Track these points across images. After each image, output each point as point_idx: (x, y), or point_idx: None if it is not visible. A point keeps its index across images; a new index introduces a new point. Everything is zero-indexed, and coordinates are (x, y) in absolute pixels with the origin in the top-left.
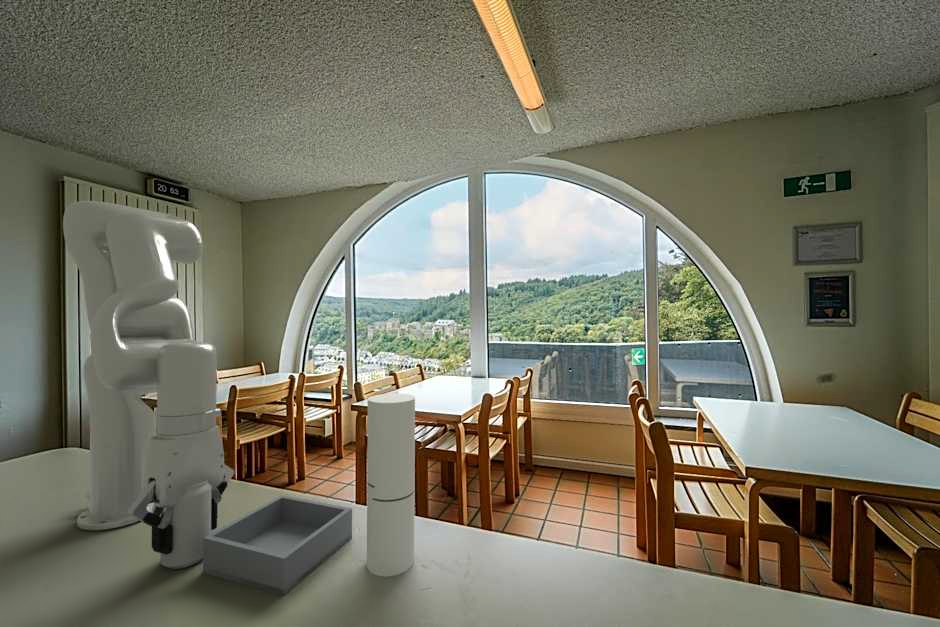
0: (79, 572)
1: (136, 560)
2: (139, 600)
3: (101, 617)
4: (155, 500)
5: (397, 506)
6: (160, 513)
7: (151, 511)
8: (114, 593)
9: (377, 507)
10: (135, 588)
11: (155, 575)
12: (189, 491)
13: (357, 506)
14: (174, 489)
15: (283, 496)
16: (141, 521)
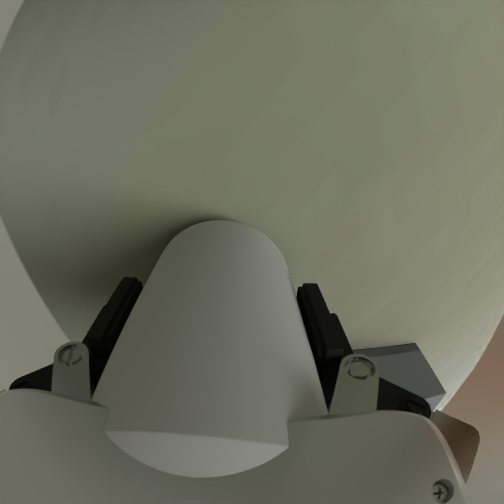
0: (77, 56)
1: (162, 135)
2: (88, 313)
3: (41, 292)
4: (62, 394)
5: None
6: (93, 389)
7: (52, 390)
8: (68, 243)
9: None
10: (96, 270)
11: (141, 266)
12: None
13: (452, 394)
14: None
15: (437, 400)
16: (28, 375)
